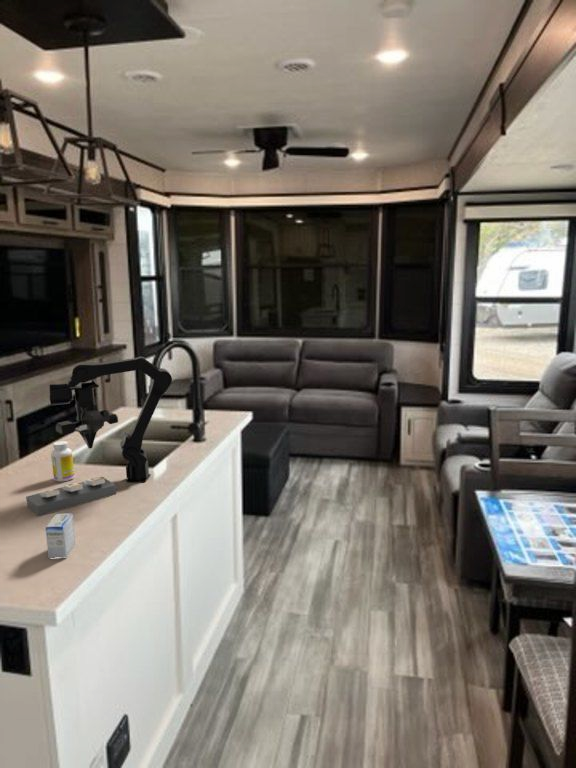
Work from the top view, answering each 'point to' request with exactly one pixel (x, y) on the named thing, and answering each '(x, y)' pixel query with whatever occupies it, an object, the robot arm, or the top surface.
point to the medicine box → (60, 535)
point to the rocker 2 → (95, 481)
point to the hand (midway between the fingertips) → (90, 448)
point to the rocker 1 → (50, 493)
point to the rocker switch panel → (69, 497)
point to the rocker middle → (73, 487)
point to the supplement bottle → (62, 462)
